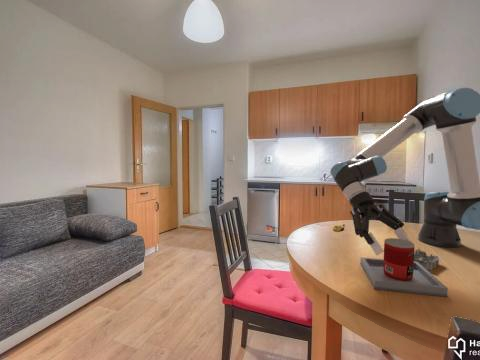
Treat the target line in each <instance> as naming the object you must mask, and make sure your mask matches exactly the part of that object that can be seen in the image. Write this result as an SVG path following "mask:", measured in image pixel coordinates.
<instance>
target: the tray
mask: <svg viewBox="0 0 480 360" xmlns="http://www.w3.org/2000/svg"><path fill="white" fill-rule="evenodd" d="M359 263H360V266H361V268H362V269H363V271H364V273H365V274H366V277H367V279H368V280H369V282H370V284H371V285H372V287H373V289H374V290H379V291H380V290H381V291H388V292H389V291H391V292H397V293H398V292H399V293H407V294H416V295H425V296H437V297H443V298H448V294H449V293H448V291H449V289H448V287H447V286H446V285H445V284H443V283H442V282H441V281H440V280H439V279H438V278H437V277H435V276H434V275H433V274H432V273H431V272H430V270H426V269H425V268H424V267H423V266H422V265H421V264H419V263H418V262H414V268H413V278H412V280H409V281H400V280H396V279H392V278H390V277H388V276H386V275H385V273H384V271H383V267H384V258H375V257H374V258H373V257H362V256H361V257H360V261H359Z"/></svg>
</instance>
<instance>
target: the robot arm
mask: <svg viewBox="0 0 480 360" xmlns="http://www.w3.org/2000/svg"><path fill="white" fill-rule="evenodd" d="M479 114H480V93H479V92H478V91H477V90H474V89H473V88H470V87H459V88H456V89H455V88H454V89H451V90H449V91H448V90H447V91H446V92H443V93H440V94H436V95H434V96H432V97H429V98H427V99H425V100H424V101H421V102H420V103H419V104H418V105H416V106H415V107H413V109H411V110H410V111H409V112H407V113H406V114H405V115H403V117H402V119H401V121H400V122H398V123H397V124H395V125H394V126H392V128H390V129H389V130H387V131H386V132H385V133H384V134H382V135H380V136H379V137H378V138H377V139H375V140H374V141H373V142H372V143H370V144H369V145H368V146H367V147H366V148H364V149H362V150H361V151H360V152H359V153H358V154H356V155H354V156H353V157H352V158H349V159H346V160H344V161H340V162H337V163H336V164H334V165H333V166H332V167H331V169H330V175H331V177H332V179H333V180H334V182H335V183H336V185H337V186H338V188H339V189H340V190H341V192H342V194H343V195H344V196H345V198H346V200H347V201H348V202H349V204H350V206H351V207H352V209H351V210H350V211H349V213H350V215H351V217H352V222H353V226H354V231H355V232H354V233H355V235H356V236H359V238H363V239H364V240H365V242H366V243H367V245H369V246H370V248H371V249H372V251H373V252H374V253H375V255H376V256H379V255H380V254H382V253H384V248H382V245H380V243H379V241H378V240H377V238H376V237H375V235H374V234H373V233H372V232H371V231H370V232H369V229H370V220H375V221H379V222H381V223H382V224H385V225H386V226H387V227H389V228H390V229H392V230H394V231H393V233H394V235H396V237H397V239H403V240H407V241H410V242H412V240H411V239H410V237H409V236H408V234H407V233H406V232H405V231H404V229H403V227H404V225H405V223H404V222H403V221H402V220H400V219H399V218H398V217H397V216H395V215H394V214H393V213H392V212H390V211H389V210H388V209H387V208H385V206H384V205H383V204H379V205H375V203H374V202H375V199H374V197H372V195H371V194H370V193H369V192H368V190H367V188H366V187H365V185H364V184H363V183H362V182H364V181H367V180H370V179H373V178H375V177H379V176H381V175H382V174H384V173H386V172H387V170H388V167H387V166H388V164H387V163H386V161H385V159H384V157H385V156H387V154H388V153H390V152H391V151H392V150H394V149H396V148H397V147H399V146H400V145H401V144H402V143H403V142H405V141H406V140H407V139H409V138H410V137H412V136H413V135H415V134H419V133H421V132H422V131H424V130H425V129H427V128H429V127H432V126H435V129H436V131H438V132H440V133H441V135H442V142H443V148H444V149H443V150H444V154H445V160H446V162H445V163H446V169H447V173H448V180H449V181H448V182H449V186H450V191H443V192H442V191H436V192H434V191H433V192H432V191H431V192H430V191H429V192H426V193H425V194H424V199H423V202H424V203H423V224H422V226H421V228H420V230H419V232H418V235H417V239H418V241H420V242H421V243H425V244H428V245H432V246H437V247H442V248H444V247H445V248H458V247H461V245H462V240H461V237H460V234H459V231H458V228H457V226H459V227H460V226H461V227H464V228H466V229H468V230H469V229H470V230H476V231H480V177H479V170H478V164H477V156H476V149H475V141H474V136H473V129H472V128H473V126H474V125H475V124H476V123H477V116H479ZM412 243H413V242H412Z"/></svg>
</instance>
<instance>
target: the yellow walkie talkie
mask: <svg viewBox="0 0 480 360" xmlns="http://www.w3.org/2000/svg"><path fill="white" fill-rule="evenodd" d="M345 225H346V224H342V225H341V224H339V225H334V226H333V227H332V231H334V232H342V231H344V228H345V227H344V226H345Z"/></svg>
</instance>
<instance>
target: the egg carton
mask: <svg viewBox="0 0 480 360" xmlns="http://www.w3.org/2000/svg"><path fill="white" fill-rule="evenodd" d="M440 259H441V256H437V255H433V254H428V255H427V253H426V251H424V250H421V249H420V248H417V249H415V250H414V262H418V263H419V264H421V265H422V266H423V267H424V268H425V269H426V270H428V271H432V270H433V268H434V269H435V268H436V266H439V264H440Z"/></svg>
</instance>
